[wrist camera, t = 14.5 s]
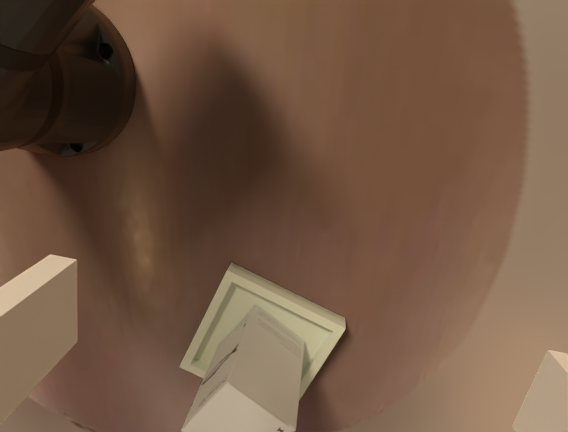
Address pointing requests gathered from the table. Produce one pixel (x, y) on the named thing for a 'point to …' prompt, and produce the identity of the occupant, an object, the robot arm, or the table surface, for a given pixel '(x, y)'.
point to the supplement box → (251, 380)
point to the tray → (278, 303)
